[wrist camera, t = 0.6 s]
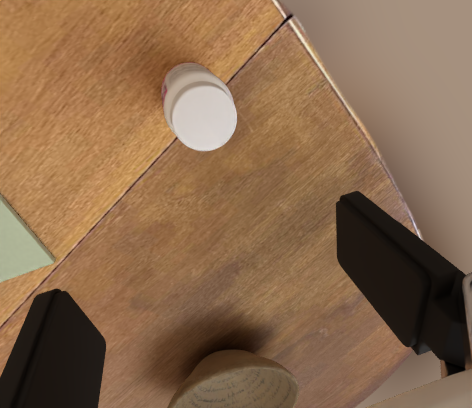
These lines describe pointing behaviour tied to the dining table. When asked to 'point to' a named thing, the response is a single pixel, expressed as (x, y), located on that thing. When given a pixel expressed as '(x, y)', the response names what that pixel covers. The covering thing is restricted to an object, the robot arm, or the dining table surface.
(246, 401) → the bowl
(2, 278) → the mat
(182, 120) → the pill bottle
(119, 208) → the dining table surface
